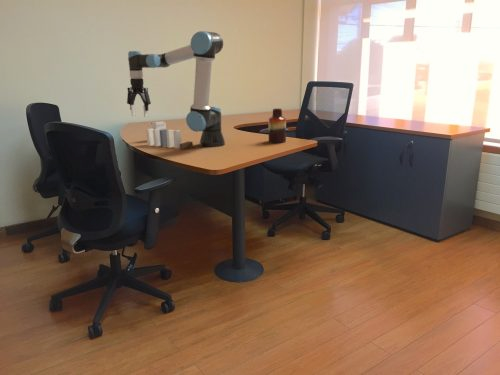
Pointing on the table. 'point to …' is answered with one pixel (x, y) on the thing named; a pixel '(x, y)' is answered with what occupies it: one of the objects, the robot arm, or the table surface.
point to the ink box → (159, 125)
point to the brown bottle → (277, 127)
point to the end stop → (186, 145)
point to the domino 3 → (163, 137)
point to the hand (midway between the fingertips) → (139, 115)
